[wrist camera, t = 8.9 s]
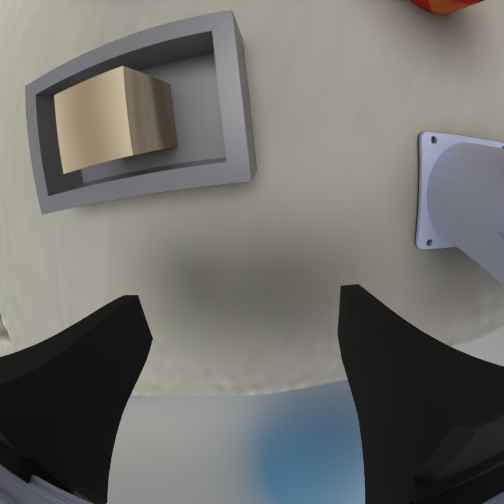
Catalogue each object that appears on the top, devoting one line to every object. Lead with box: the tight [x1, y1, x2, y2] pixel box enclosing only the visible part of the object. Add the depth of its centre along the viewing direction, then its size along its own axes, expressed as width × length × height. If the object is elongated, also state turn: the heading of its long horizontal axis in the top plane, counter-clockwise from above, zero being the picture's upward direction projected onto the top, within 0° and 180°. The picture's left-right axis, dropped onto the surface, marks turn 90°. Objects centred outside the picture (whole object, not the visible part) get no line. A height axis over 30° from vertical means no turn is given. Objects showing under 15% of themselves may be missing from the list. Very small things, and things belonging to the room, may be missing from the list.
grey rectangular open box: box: [25, 10, 257, 215], centre depth 14 cm, size 13×8×4 cm, turn 95°
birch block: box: [54, 66, 178, 174], centre depth 13 cm, size 4×4×6 cm
